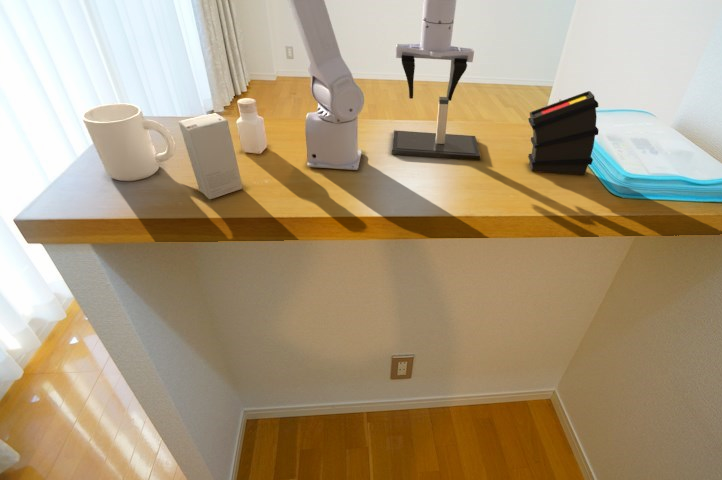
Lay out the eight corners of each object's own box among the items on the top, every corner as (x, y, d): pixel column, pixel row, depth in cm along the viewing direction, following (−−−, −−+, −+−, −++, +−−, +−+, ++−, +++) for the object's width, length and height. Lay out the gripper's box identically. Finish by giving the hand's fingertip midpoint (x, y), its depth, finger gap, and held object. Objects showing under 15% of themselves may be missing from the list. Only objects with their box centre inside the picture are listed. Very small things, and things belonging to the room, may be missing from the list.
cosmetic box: (232, 179, 73) (216, 110, 65) (244, 190, 70) (229, 119, 62) (197, 190, 69) (176, 119, 61) (209, 202, 67) (188, 129, 59)
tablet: (391, 154, 84) (391, 149, 83) (393, 134, 91) (393, 129, 91) (479, 160, 84) (480, 155, 83) (474, 140, 92) (475, 135, 91)
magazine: (605, 170, 80) (597, 96, 71) (536, 191, 84) (521, 123, 75) (598, 161, 83) (590, 89, 74) (532, 182, 87) (517, 115, 78)
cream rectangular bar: (435, 143, 86) (439, 99, 81) (435, 140, 88) (439, 96, 82) (444, 144, 86) (448, 100, 81) (444, 140, 88) (448, 97, 82)
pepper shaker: (241, 152, 81) (231, 103, 74) (249, 144, 84) (240, 96, 77) (260, 155, 80) (252, 105, 74) (268, 146, 83) (261, 98, 77)
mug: (187, 158, 77) (170, 103, 71) (177, 180, 71) (158, 121, 65) (116, 160, 75) (92, 103, 69) (100, 183, 69) (72, 123, 62)
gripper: (398, 22, 71) (394, 102, 80) (481, 27, 72) (468, 106, 80) (397, 14, 76) (393, 90, 85) (475, 19, 77) (463, 94, 86)
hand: (429, 97), depth 83 cm, fingers open, 7 cm apart
